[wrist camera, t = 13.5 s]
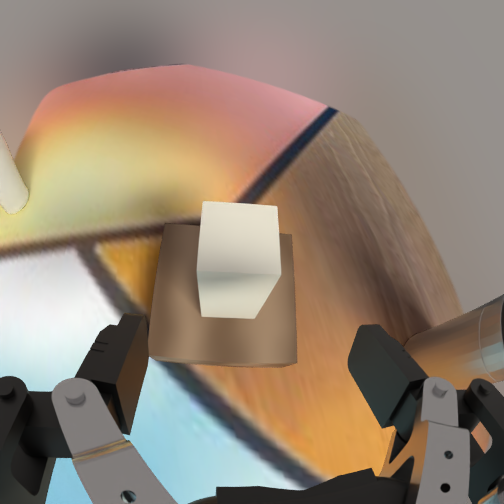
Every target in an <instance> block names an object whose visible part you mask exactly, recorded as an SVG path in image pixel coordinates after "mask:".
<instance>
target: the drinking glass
mask: <svg viewBox="0 0 504 504" xmlns="http://www.w3.org/2000/svg"><path fill="white" fill-rule="evenodd" d="M28 198H29V191H28V189H27V187H26V186H25V184H24V182H23V180H22V178H21V176H20V174H19V172H18V169H17V167H16V165H15V162H14V160H13V158H12V155H11V153H10V150H9V148H8V145H7V143H6V141H5V138H4V136H3V134H2V132H1V130H0V205H1V206H2V208H3V209H4V210H5V212H7V213H8V214H15V213H17V212H19V211H20V210H21V209H22V208H23V207H24V206H25V205H26V203H27V201H28Z"/></svg>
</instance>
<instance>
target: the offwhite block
mask: <svg viewBox="0 0 504 504" xmlns="http://www.w3.org/2000/svg"><path fill="white" fill-rule="evenodd" d="M280 276H281V260H280V242H279V226H278V211H277V206H268V205H256V204H242V203H227V202H211V201H203V206H202V215H201V225H200V236H199V247H198V259H197V280H198V290H199V299H200V307H201V316H202V317H219V318H246V319H255V317H256V316H257V314H258V312H259V311H260V309H261V308H262V306H263V304H264V303H265V301H266V299H267V298H268V296H269V294H270V293H271V291H272V289H273V288H274V286H275V284H276V283H277V281H278V279H279V278H280Z"/></svg>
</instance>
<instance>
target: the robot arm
mask: <svg viewBox="0 0 504 504" xmlns="http://www.w3.org/2000/svg"><path fill="white" fill-rule="evenodd" d="M148 359H149V348H148V336H147V323H146V317H145V315H139V314H131V313H124V314H123V316H122V318H121V320H120V322H119V324H118V325H117V326H116V325H109V326H107V327H106V328H104V329H103V330H102V331H100V333H99V334H98V336H97V338H96V339H95V343H93V345H92V346H91V348H90V350H89V352H88V354H87V355H86V357H85V359H84V361H83V363H82V364H81V366H80V368H79V370H78V372H77V374H76V376H75V377H74V378H70V379H66V380H64V381H62V382H60V383H59V384H58V385H56V387H55V388H54V390H53V391H52V392H37V391H28V390H27V387H26V385H25V383H24V382H23V381H22V380H21V379H19V378H17V377H13V376H5V377H2V378H0V504H45V502H46V497H47V493H48V488H49V484H50V480H51V476H52V472H53V469H54V465H55V461H56V458H72V462H73V465H74V467H75V469H76V471H77V474H78V476H79V478H80V480H81V482H82V484H83V486H84V488H85V490H86V492H87V493H88V495H89V497H90V499H91V501H92V503H93V504H178V503H177V502H176V501H175V500H174V499H173V498H172V496H171V495H170V494H169V493H168V492H167V490H166V489H165V488H164V487H163V485H162V484H161V483H160V482H159V480H158V479H157V478H156V476H155V475H154V474H153V472H152V471H151V470H150V468H149V467H148V466H147V464H146V463H145V461H144V460H143V459H142V457H141V456H140V454H139V453H138V451H137V450H136V448H135V447H134V446H133V444H132V443H131V442H130V441H129V440H128V441H127V440H126V439H125V438H124V436H123V434H127V435H130V433H131V428H132V424H133V420H134V416H135V412H136V408H137V404H138V400H139V396H140V392H141V388H142V385H143V381H144V377H145V374H146V370H147V366H148ZM348 369H349V371H350V373H351V375H352V377H353V378H354V380H355V382H356V384H357V385H358V387H359V389H360V391H361V392H362V394H363V396H364V398H365V399H366V401H367V403H368V405H369V406H370V408H371V410H372V412H373V413H374V415H375V417H376V419H377V421H378V422H379V424H380V426H381V428H386V427H390V426H395V428H396V429H395V430H394V431H393V433H392V436H391V440H390V444H389V447H388V451H387V455H386V458H385V462H384V465H383V468H382V471H381V473H380V475H379V476H375V475H374V472H373V470H372V468H369V469H365V470H361V471H357V472H353V473H349V474H344V475H340V476H337V477H335V478H333V479H330V480H328V481H326V482H323V483H321V484H319V485H316V486H314V487H311V488H309V489H306V490H287V489H277V488H269V487H261V486H251V487H216V496H212V497H207V498H203V499H200V500H196V501H194V502H191V503H188V504H467V500H468V496H469V498H470V500H471V502H472V504H504V397H503V396H502V395H501V394H500V392H499V391H498V390H497V389H496V388H495V387H494V385H492V383H496V382H501V381H504V294H503V295H501V296H499V297H497V298H495V299H493V300H492V301H490V302H488V303H486V304H484V305H482V306H480V307H478V308H476V309H474V310H472V311H470V312H467V313H465V314H463V315H461V316H459V317H457V318H454V319H452V320H450V321H447V322H445V323H443V324H440V325H438V326H436V327H433V328H431V329H428V330H426V331H423V332H421V333H418V334H415V335H414V336H412V337H411V338H410V339H409V340H408V341H407V342H406V344H405V346H404V347H403V346H402V345H401V344H400V343H399V342H398V341H396V340H395V339H393V338H392V337H390V336H389V335H388V334H387V332H386V331H385V330H384V329H383V328H382V327H381V326H380V325H378V324H374V325H361V326H360V327H359V328H358V331H357V333H356V336H355V339H354V342H353V345H352V348H351V351H350V354H349V357H348ZM463 389H467V390H463ZM480 421H481V423H482V424H483V425H484V427H485V428H486V430H487V431H488V432H489V434H490V435H491V437H492V446H491V448H490V449H489V450H488V451H487V452H486V453H485V454H484V452H483V451H482V449H481V447H480V446H479V444H478V443H477V441H476V440H475V438H474V437H473V435H472V434H471V432H472V431H473V430H474V428H475V427H476V426H477V425H478V423H479V422H480Z"/></svg>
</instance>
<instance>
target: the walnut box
mask: <svg viewBox="0 0 504 504" xmlns="http://www.w3.org/2000/svg"><path fill="white" fill-rule="evenodd" d="M199 236H200V226H195V225H184V224H171V223H165V226H164V231H163V237H162V242H161V248H160V254H159V260H158V266H157V273H156V279H155V286H154V293H153V301H152V309H151V318H150V327H149V337H148V348H149V356H150V357H151V358H153V359H154V360H156V361H164V362H173V363H184V364H195V365H209V366H227V367H261V368H282V367H286V366H289V365H292V364H296V363H297V331H296V304H295V282H294V263H293V246H292V235H291V234H281V233H279V242H280V260H281V276H280V278H279V279H278V281H277V283H276V284H275V286H274V288H273V289H272V291H271V293H270V294H269V296H268V298H267V299H266V301H265V303H264V304H263V306H262V308H261V309H260V311H259V312H258V314H257V316H256V317H255V319H246V318H219V317H202V316H201V307H200V299H199V290H198V280H197V259H198V247H199Z"/></svg>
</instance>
